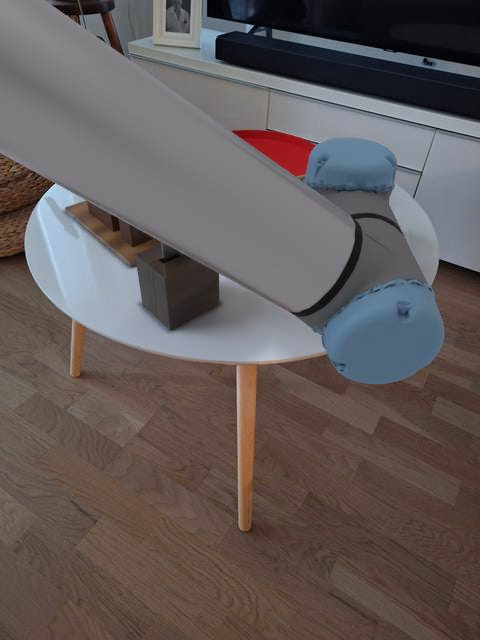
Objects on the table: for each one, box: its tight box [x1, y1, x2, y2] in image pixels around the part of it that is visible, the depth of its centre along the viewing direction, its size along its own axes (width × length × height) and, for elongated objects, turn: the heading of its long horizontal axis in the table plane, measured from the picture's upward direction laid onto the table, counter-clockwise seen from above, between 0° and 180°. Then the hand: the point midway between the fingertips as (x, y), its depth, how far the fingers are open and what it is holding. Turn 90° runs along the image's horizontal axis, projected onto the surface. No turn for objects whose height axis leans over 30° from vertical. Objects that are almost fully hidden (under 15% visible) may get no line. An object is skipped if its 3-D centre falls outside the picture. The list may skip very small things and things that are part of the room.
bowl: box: [230, 129, 316, 177], centre depth 103 cm, size 30×30×10 cm
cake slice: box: [118, 218, 154, 247], centre depth 89 cm, size 4×12×6 cm, turn 131°
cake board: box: [64, 200, 161, 268], centre depth 96 cm, size 26×18×1 cm
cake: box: [87, 201, 120, 232], centre depth 95 cm, size 10×12×6 cm
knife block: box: [135, 244, 220, 330], centre depth 74 cm, size 8×10×10 cm
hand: (150, 181), depth 67 cm, fingers closed on knife, 3 cm apart
